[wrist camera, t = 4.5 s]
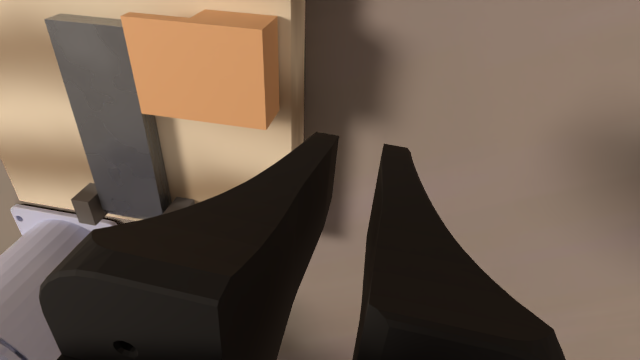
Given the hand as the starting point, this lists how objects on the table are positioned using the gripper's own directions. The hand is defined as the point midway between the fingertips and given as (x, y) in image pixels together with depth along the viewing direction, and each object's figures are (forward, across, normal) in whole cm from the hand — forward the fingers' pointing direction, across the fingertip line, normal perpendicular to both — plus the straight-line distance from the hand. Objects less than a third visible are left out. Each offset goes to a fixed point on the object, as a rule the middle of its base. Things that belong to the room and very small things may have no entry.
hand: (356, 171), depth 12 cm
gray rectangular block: (+7, +12, +5) cm, 15 cm away
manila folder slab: (+7, +7, 0) cm, 10 cm away
